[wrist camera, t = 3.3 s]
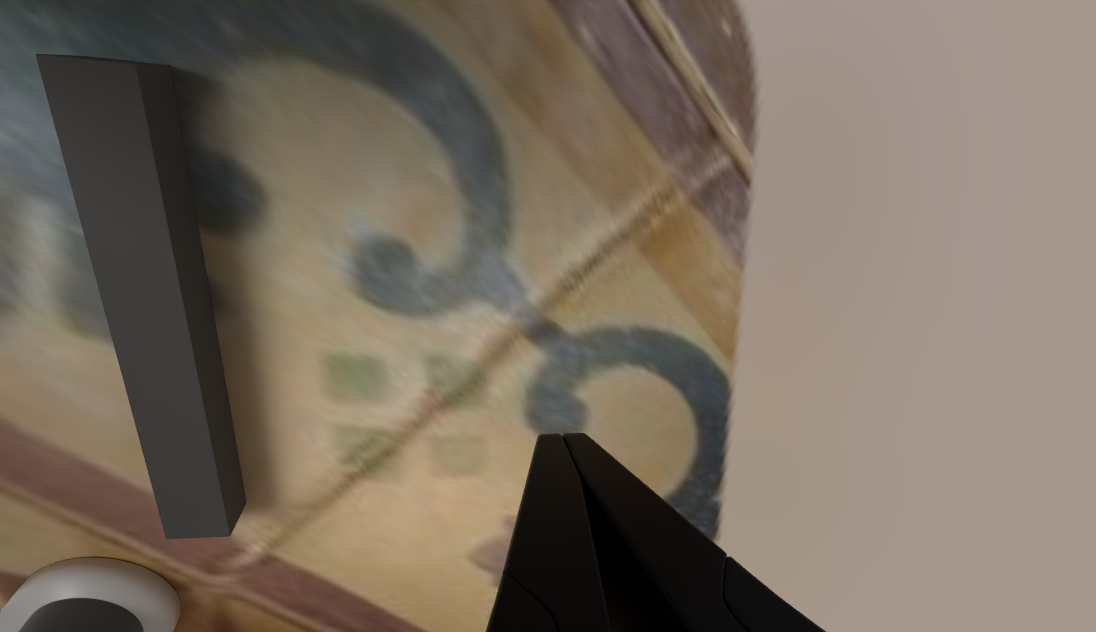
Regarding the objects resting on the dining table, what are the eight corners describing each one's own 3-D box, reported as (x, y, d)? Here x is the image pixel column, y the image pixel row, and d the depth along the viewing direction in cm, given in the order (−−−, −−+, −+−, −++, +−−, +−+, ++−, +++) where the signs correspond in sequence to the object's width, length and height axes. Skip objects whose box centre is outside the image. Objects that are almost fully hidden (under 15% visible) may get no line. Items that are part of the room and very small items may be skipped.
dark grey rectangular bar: (250, 494, 16) (230, 536, 15) (193, 496, 16) (165, 539, 14) (177, 65, 11) (135, 64, 10) (92, 56, 11) (35, 54, 9)
